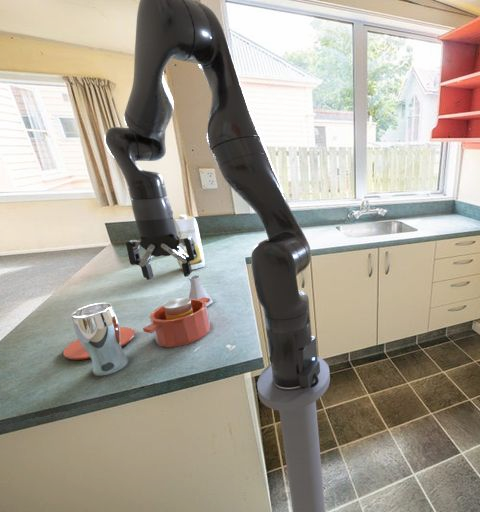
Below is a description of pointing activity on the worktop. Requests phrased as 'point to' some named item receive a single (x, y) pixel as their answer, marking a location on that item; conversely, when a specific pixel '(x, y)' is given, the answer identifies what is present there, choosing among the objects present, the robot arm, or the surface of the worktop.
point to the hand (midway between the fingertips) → (169, 277)
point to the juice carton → (190, 228)
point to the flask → (198, 289)
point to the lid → (79, 352)
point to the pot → (180, 325)
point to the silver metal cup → (100, 337)
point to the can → (178, 308)
